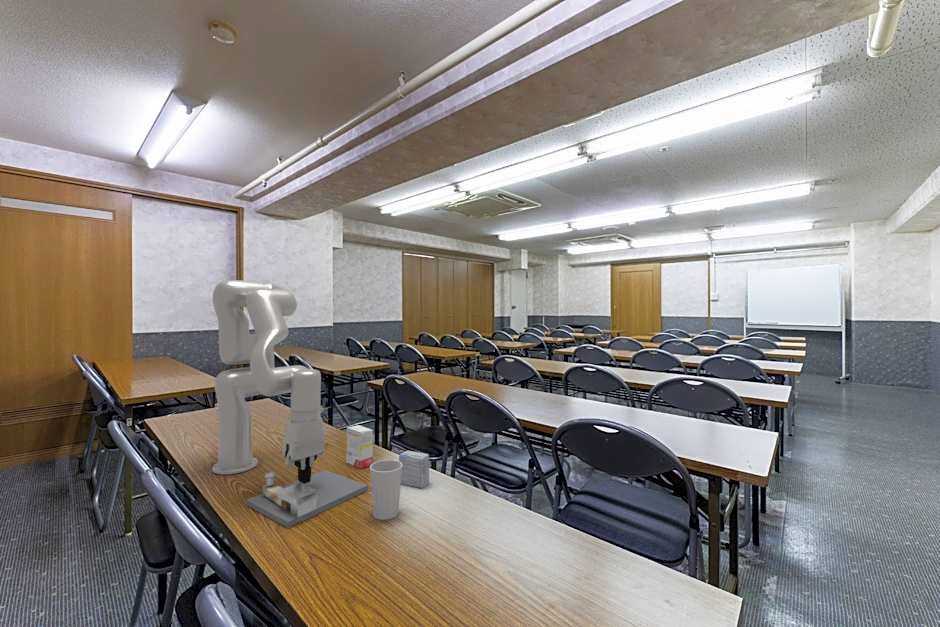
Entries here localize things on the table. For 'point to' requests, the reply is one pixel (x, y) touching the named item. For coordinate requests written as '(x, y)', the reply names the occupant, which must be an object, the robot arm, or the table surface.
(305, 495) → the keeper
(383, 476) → the cup
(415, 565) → the table surface
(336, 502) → the board
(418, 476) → the medicine box
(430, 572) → the table surface
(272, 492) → the link
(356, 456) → the ink box
